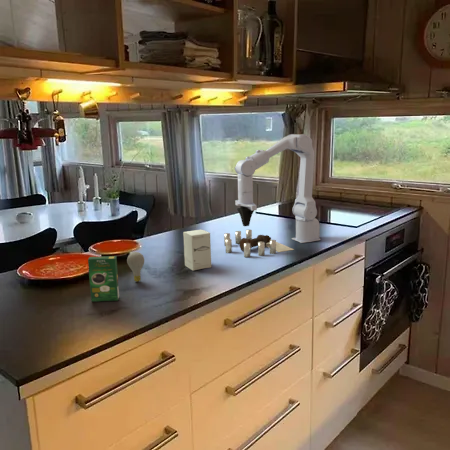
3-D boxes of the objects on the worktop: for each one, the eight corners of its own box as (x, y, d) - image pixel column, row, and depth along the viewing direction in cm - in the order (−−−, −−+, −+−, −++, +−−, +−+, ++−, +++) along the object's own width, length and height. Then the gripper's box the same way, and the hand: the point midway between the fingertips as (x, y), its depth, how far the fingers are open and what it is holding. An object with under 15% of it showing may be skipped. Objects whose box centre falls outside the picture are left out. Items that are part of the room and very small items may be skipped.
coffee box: (120, 297, 136) (117, 254, 133) (119, 301, 133) (115, 257, 130) (93, 298, 135) (88, 256, 132) (91, 302, 132) (86, 259, 130)
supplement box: (192, 271, 157) (190, 235, 154) (184, 265, 164) (182, 231, 161) (212, 267, 160) (210, 232, 158) (203, 262, 167) (201, 228, 164)
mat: (268, 238, 197) (268, 238, 197) (294, 249, 179) (294, 249, 179) (254, 240, 194) (254, 240, 194) (278, 252, 176) (278, 252, 176)
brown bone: (270, 247, 189) (245, 255, 178) (261, 240, 191) (237, 247, 181) (275, 236, 186) (251, 243, 175) (267, 229, 188) (242, 235, 178)
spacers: (250, 240, 195) (250, 229, 193) (277, 253, 175) (277, 240, 173) (214, 246, 188) (214, 234, 187) (238, 259, 168) (238, 246, 167)
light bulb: (131, 279, 151) (128, 250, 149) (147, 278, 151) (145, 249, 149) (127, 284, 146) (124, 254, 144) (144, 284, 146) (141, 254, 144)
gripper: (228, 190, 181) (229, 223, 184) (244, 194, 168) (245, 230, 171) (244, 188, 184) (244, 221, 187) (261, 193, 171) (261, 228, 174)
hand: (246, 225), depth 179 cm, fingers closed
